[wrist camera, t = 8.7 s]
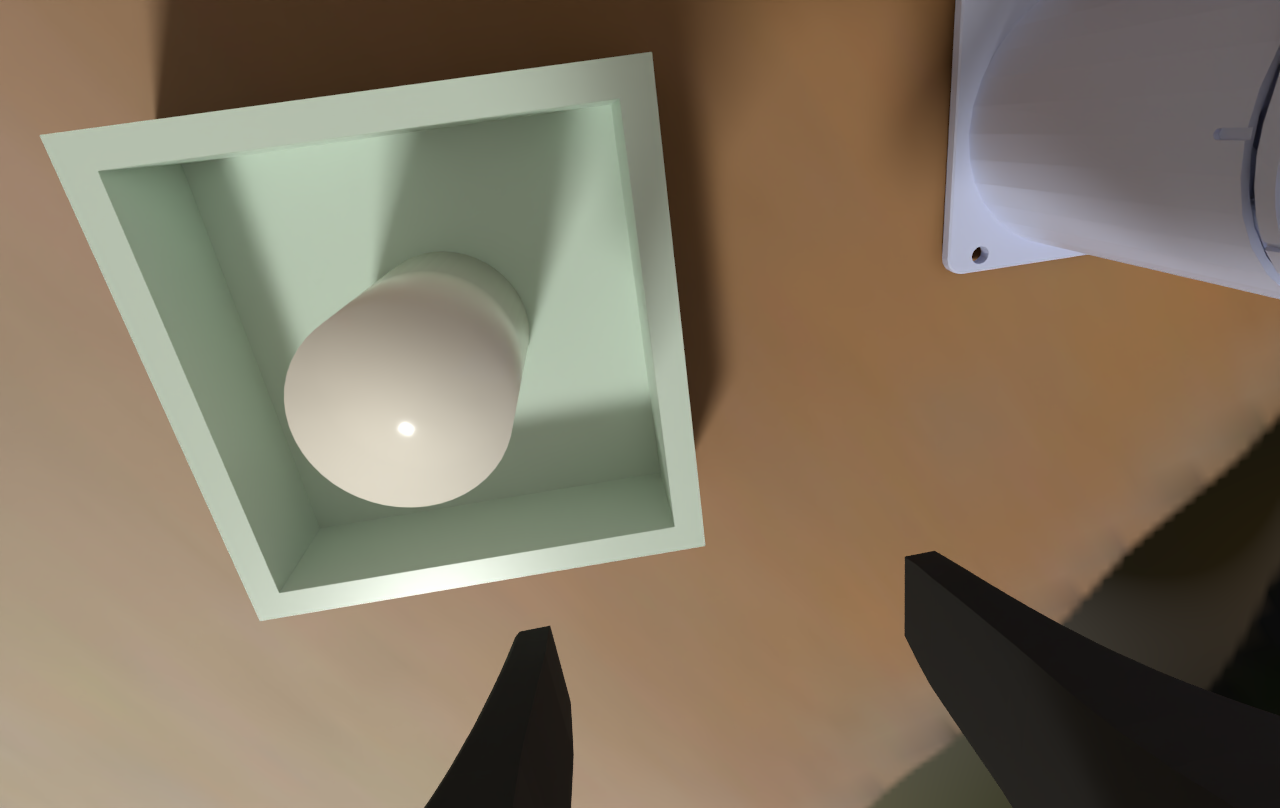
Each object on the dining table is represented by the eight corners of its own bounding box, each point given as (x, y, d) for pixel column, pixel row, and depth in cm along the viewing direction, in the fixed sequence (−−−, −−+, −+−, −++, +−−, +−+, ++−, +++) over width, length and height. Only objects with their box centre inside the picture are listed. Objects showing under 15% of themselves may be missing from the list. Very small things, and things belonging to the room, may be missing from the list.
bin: (634, 68, 18) (651, 51, 14) (682, 478, 22) (705, 545, 19) (154, 134, 17) (38, 134, 13) (311, 539, 22) (259, 620, 18)
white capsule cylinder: (513, 241, 18) (490, 289, 13) (541, 391, 20) (530, 490, 14) (349, 262, 18) (251, 320, 12) (391, 412, 20) (322, 521, 14)
